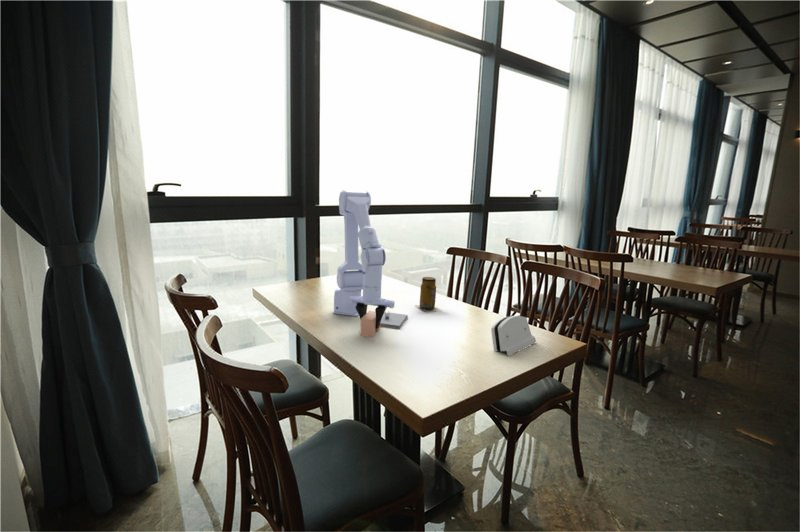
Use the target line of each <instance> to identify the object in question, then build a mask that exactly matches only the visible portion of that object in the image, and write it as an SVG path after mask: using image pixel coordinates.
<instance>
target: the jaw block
mask: <svg viewBox="0 0 800 532" xmlns="http://www.w3.org/2000/svg"><path fill="white" fill-rule="evenodd" d="M380 329H381V326H380V327H379V328H378V329H376V312H375V310H374V311H373V310H369V311H367V313H366V314H365V315H364V316H363V317H362V318H361V319H360V336H363V337H372V338H373V337H374V336H375V335H376V331H377V332H379V330H380Z"/></svg>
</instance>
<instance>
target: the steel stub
mask: <svg viewBox="0 0 800 532" xmlns="http://www.w3.org/2000/svg"><path fill="white" fill-rule="evenodd" d="M390 313H391V312H390V311H388V310H385V318H386V319H389V315H390Z"/></svg>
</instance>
